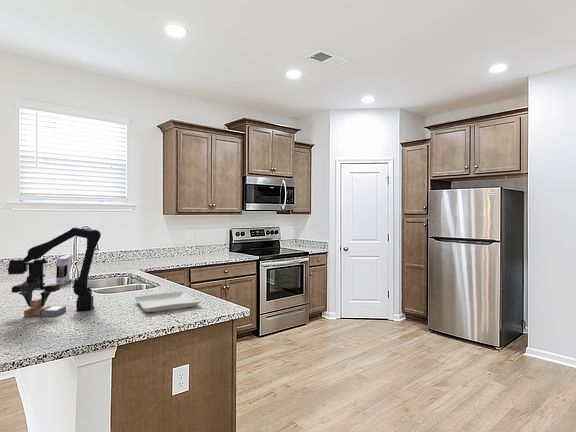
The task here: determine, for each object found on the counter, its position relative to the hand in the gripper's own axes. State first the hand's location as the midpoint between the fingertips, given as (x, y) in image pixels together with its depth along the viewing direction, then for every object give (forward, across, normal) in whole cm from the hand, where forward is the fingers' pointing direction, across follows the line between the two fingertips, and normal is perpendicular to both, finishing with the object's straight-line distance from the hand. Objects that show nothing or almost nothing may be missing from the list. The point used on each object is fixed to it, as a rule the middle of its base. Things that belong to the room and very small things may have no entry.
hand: (36, 306), depth 173 cm
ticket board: (+4, +8, 0) cm, 9 cm away
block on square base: (+3, 0, 0) cm, 3 cm away
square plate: (+4, +56, +13) cm, 58 cm away
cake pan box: (+4, -26, +78) cm, 82 cm away
